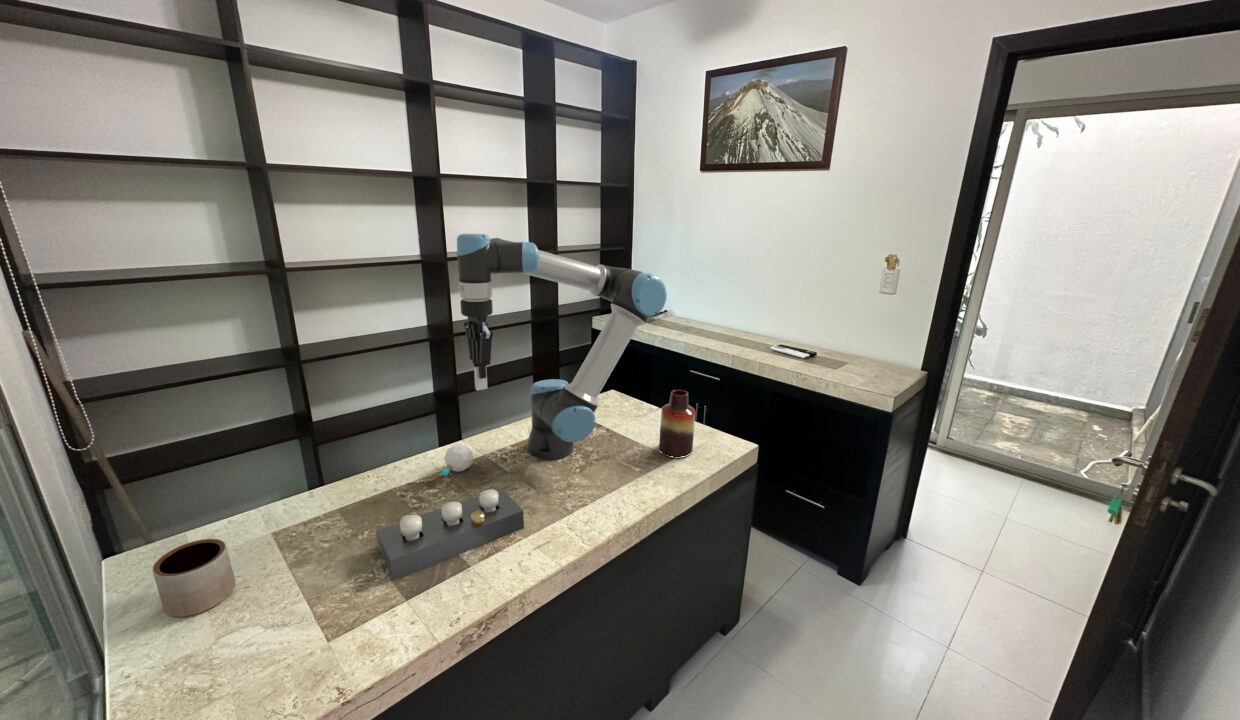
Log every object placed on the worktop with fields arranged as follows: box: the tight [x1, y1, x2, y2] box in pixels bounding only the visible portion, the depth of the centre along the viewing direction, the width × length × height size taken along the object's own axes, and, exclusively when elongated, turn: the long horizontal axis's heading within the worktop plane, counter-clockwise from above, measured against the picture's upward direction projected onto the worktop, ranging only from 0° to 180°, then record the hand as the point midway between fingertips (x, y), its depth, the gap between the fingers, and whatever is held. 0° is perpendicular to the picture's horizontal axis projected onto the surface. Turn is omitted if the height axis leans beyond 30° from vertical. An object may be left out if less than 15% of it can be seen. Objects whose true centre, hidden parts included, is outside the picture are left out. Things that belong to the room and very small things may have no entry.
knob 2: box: [478, 489, 499, 514], centre depth 119 cm, size 4×4×8 cm
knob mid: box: [440, 501, 462, 527], centre depth 113 cm, size 4×4×8 cm
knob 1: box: [399, 514, 422, 542], centre depth 108 cm, size 4×4×8 cm
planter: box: [152, 538, 236, 618], centre depth 94 cm, size 11×11×10 cm
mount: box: [376, 488, 525, 581], centre depth 114 cm, size 30×12×5 cm, turn 128°
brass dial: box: [471, 511, 485, 526], centre depth 112 cm, size 3×3×2 cm
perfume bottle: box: [441, 443, 474, 477], centre depth 142 cm, size 8×8×12 cm
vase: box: [658, 389, 696, 457], centre depth 157 cm, size 11×11×20 cm
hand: (481, 388), depth 127 cm, fingers closed
